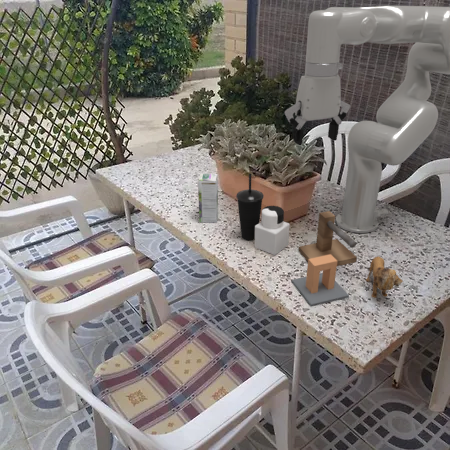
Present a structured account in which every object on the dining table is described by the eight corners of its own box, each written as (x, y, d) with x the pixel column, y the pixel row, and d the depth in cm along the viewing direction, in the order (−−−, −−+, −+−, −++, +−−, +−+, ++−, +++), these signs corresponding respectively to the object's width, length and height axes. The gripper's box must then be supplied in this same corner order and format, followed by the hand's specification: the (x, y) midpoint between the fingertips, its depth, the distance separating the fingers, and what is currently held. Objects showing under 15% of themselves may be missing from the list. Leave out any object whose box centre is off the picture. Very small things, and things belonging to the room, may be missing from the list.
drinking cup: (247, 246, 120) (248, 182, 110) (231, 235, 125) (230, 173, 116) (267, 237, 124) (270, 174, 114) (251, 227, 129) (252, 166, 119)
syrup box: (200, 214, 138) (198, 173, 130) (218, 214, 137) (217, 173, 130) (199, 222, 133) (196, 180, 126) (218, 222, 132) (216, 180, 125)
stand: (336, 243, 121) (341, 205, 115) (368, 273, 108) (375, 233, 102) (298, 251, 117) (301, 213, 111) (327, 283, 105) (332, 242, 99)
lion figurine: (399, 307, 96) (406, 275, 92) (376, 307, 96) (382, 276, 92) (377, 269, 109) (383, 240, 105) (356, 270, 109) (361, 240, 105)
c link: (327, 281, 104) (330, 254, 100) (333, 288, 102) (337, 260, 98) (305, 286, 103) (308, 259, 99) (311, 293, 100) (314, 266, 96)
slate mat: (326, 273, 108) (327, 271, 108) (348, 297, 100) (348, 295, 99) (291, 281, 105) (291, 279, 105) (310, 306, 97) (311, 304, 97)
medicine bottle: (268, 237, 124) (269, 200, 118) (288, 245, 120) (291, 207, 114) (253, 247, 120) (254, 210, 114) (274, 256, 116) (276, 217, 110)
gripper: (345, 64, 103) (337, 133, 111) (280, 70, 98) (277, 140, 107) (363, 69, 97) (353, 141, 105) (295, 75, 92) (290, 150, 101)
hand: (315, 141), depth 106 cm, fingers open, 9 cm apart
